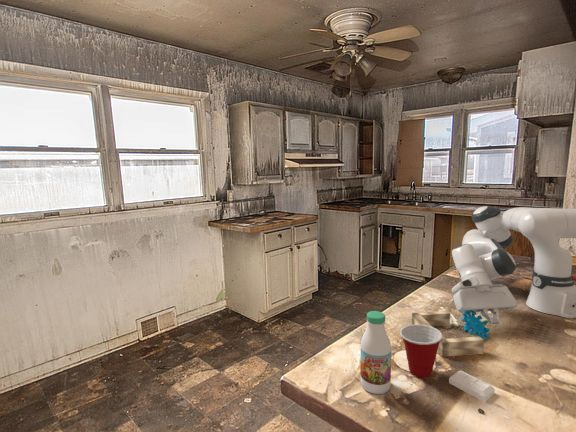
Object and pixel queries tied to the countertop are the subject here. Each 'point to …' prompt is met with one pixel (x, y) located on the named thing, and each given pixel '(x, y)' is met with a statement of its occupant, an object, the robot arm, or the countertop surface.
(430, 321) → the carrier pocket
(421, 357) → the plastic cup
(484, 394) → the soap bar
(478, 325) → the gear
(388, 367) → the milk bottle
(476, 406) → the countertop surface
